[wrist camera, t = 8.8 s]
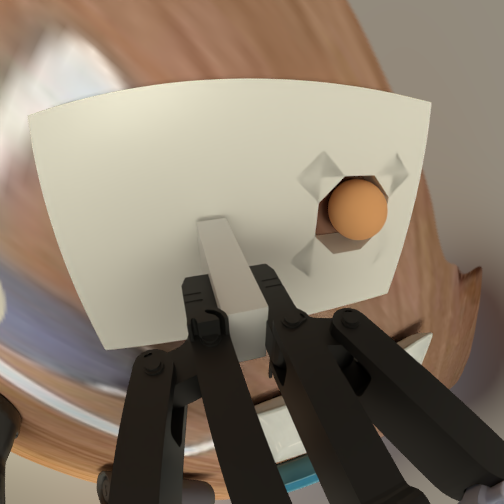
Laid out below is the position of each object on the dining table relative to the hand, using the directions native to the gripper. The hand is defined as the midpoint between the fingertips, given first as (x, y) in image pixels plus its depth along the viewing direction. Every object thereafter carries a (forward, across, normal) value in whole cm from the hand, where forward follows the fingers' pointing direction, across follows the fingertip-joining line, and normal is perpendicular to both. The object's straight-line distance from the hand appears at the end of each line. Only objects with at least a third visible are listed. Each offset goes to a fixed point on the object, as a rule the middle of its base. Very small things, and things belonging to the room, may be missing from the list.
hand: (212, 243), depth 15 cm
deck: (+3, -3, 0) cm, 4 cm away
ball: (+1, -10, 0) cm, 10 cm away
